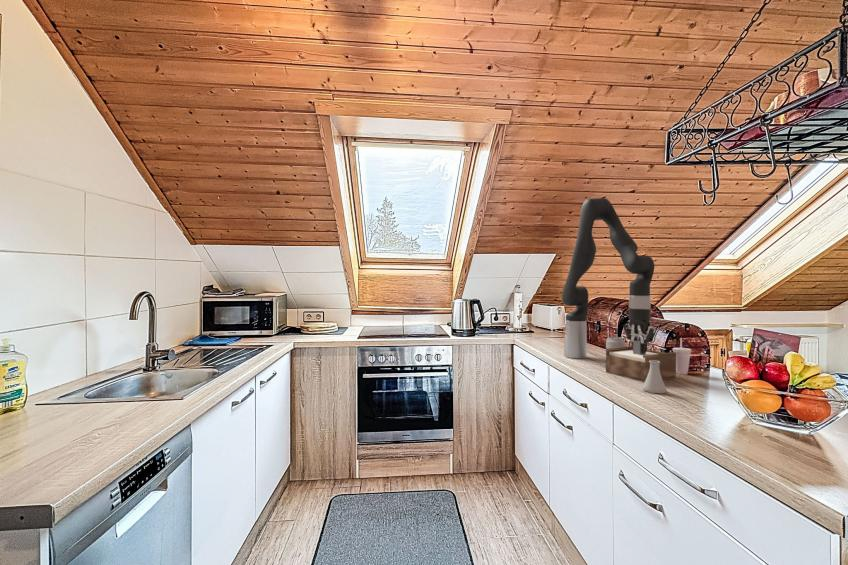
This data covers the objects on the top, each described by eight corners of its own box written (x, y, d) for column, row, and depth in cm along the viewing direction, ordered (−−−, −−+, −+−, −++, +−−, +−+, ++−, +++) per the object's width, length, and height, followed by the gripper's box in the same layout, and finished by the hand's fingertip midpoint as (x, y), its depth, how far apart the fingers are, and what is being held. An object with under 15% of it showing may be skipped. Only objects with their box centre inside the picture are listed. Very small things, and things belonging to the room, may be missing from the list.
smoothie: (668, 372, 169) (668, 337, 168) (679, 371, 171) (679, 336, 171) (684, 376, 163) (684, 339, 163) (695, 374, 166) (695, 338, 165)
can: (605, 366, 181) (606, 338, 181) (605, 362, 188) (605, 335, 187) (625, 367, 178) (625, 338, 178) (624, 364, 185) (624, 336, 185)
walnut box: (605, 372, 170) (605, 348, 170) (634, 368, 176) (634, 345, 176) (645, 382, 153) (645, 356, 153) (675, 378, 160) (676, 352, 160)
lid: (608, 354, 170) (609, 339, 169) (633, 352, 175) (633, 336, 175) (646, 362, 154) (646, 345, 154) (671, 359, 160) (671, 342, 159)
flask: (671, 394, 139) (671, 363, 139) (649, 394, 139) (649, 363, 138) (659, 388, 146) (659, 359, 146) (638, 388, 146) (638, 359, 146)
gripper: (617, 306, 169) (617, 350, 169) (648, 309, 156) (648, 356, 157) (631, 305, 172) (630, 348, 172) (663, 308, 159) (662, 354, 160)
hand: (639, 351), depth 165 cm, fingers closed on lid, 3 cm apart
